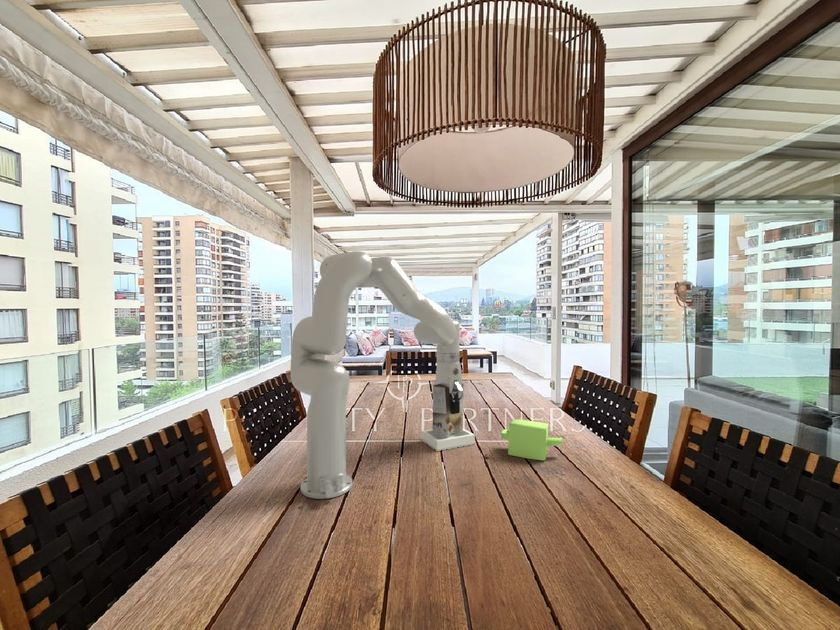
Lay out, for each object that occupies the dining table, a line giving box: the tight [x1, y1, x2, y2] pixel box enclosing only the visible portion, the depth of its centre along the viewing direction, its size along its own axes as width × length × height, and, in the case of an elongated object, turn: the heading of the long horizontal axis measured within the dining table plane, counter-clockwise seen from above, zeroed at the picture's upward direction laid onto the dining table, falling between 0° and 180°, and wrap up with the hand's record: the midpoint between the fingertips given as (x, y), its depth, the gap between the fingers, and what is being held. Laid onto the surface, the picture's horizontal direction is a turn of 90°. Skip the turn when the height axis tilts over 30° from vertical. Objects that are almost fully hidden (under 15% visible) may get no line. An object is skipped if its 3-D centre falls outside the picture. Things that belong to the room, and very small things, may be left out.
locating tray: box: [421, 428, 476, 452], centre depth 127 cm, size 11×14×3 cm
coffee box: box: [432, 383, 464, 438], centre depth 127 cm, size 9×6×16 cm
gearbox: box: [500, 418, 564, 461], centre depth 118 cm, size 18×10×10 cm, turn 67°
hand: (447, 409), depth 127 cm, fingers closed on coffee box, 8 cm apart
